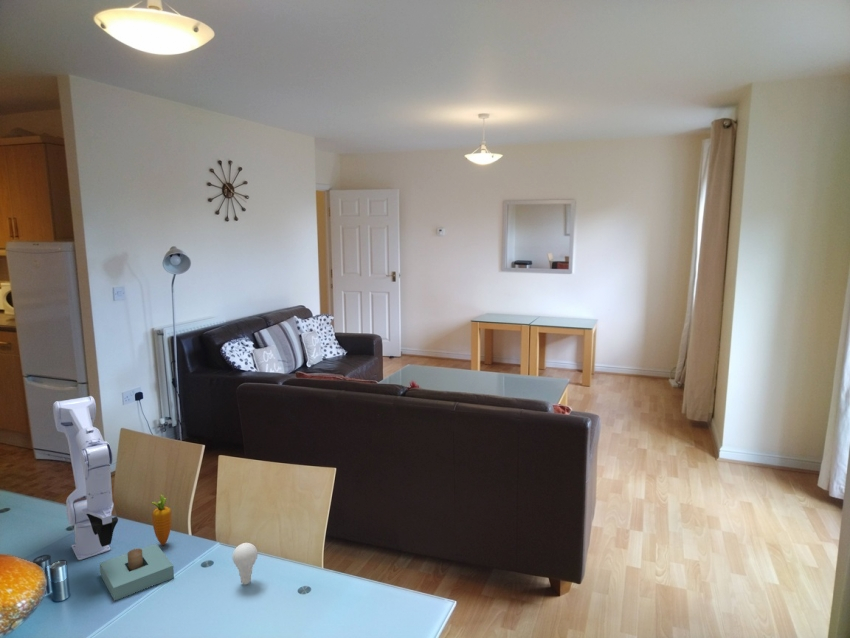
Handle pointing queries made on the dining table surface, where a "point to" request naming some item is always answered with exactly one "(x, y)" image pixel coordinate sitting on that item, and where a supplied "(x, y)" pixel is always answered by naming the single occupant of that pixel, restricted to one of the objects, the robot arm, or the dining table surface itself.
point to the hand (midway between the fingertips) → (102, 538)
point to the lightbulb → (245, 561)
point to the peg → (135, 559)
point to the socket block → (136, 572)
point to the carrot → (162, 521)
